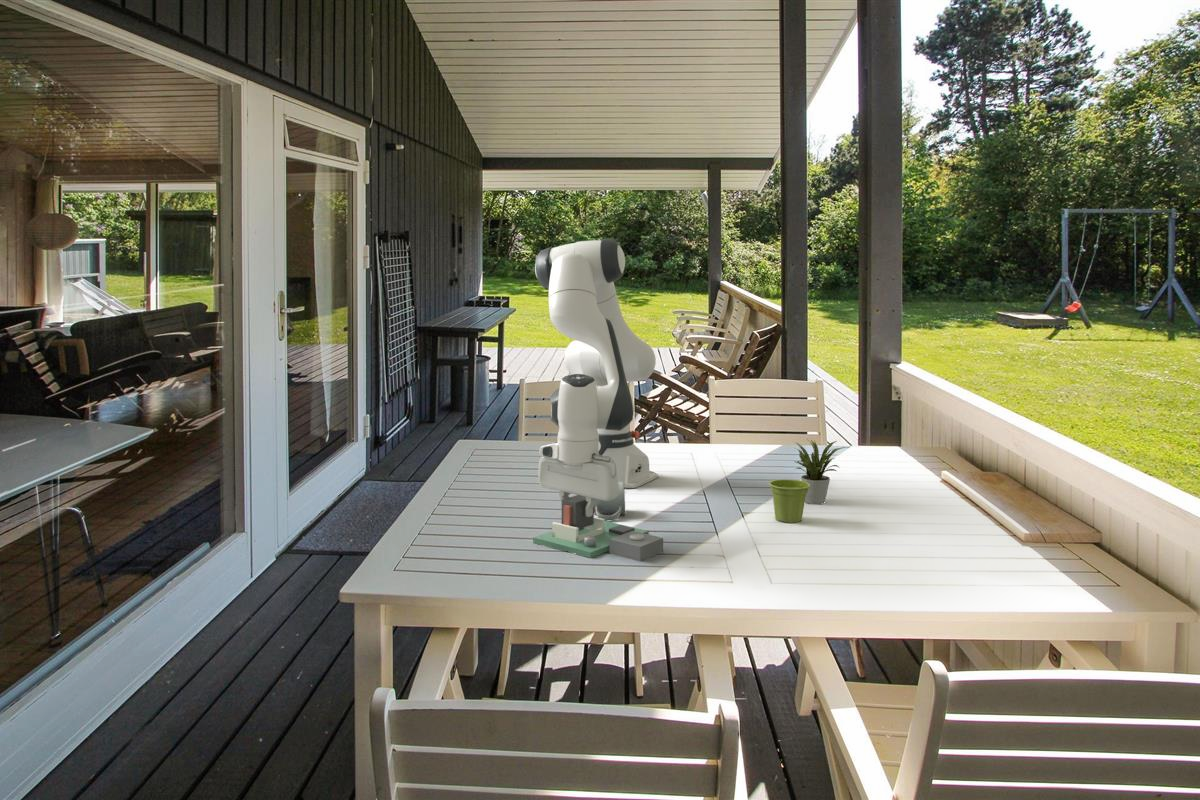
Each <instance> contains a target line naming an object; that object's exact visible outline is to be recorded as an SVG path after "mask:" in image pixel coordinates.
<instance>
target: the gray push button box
mask: <svg viewBox="0 0 1200 800" xmlns="http://www.w3.org/2000/svg"><path fill="white" fill-rule="evenodd" d="M608 553H609V554H611V553H612V554H611V555H614V554H616V555H615V556H618V555H619V557H622V556H623V557H622V558H626V557H627V559H630V558H631V560H634V559H635V560H634V561H638V562H641V561H643V560H646V559H649V558H651V557H653V556H656V555H658V554H661V553H664V537H661V536H657V535H653V534H645V533H640V532H636V531H631V532H628V533H625V534H623V535H620V536H617V537H614V538H611V539H609V551H608Z"/></svg>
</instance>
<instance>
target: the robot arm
mask: <svg viewBox="0 0 1200 800" xmlns="http://www.w3.org/2000/svg"><path fill="white" fill-rule="evenodd" d="M625 257H626V256H625V253H624V251H623V249H622V247H621V244H620V243H619V242H618V241H616V240H615V239H610V238H602V239H601V240H600V239H599V240H598V239H597V240H592V239H591V240H582V241H576V242H573V243H567V244H562V245H558V246H555V247H552V246H550V247H546V248H545V249H542V250H540V251H539V253H538V254H537V255H536V257H535V262H534V263H535V264H534V272H535V276H536V279H537V282H538V284H539V286H540V287H542V288H543V289H545V290H546V291H548V313H549V317H550V322H551V324H552V325H553V327H554V328H555V329H556V330H557V331H558V332H559V333H561V334H562V335H564V336H565V337H567V338H569V339H571V340H573V341H571V342H570V343H569V344H568V346H567V347H566V349H565V352H564V359H563V361H564V365H565V368H566V370H567V372H568V373H569V375H565V376H563V377H562V378H561V379H560V383H559V387H558V388H557V389H555V391H554V392H552V394H550V396H549V398H550V399H549V400H550V404H551V406H550V408H551V409H550V414H551V415H550V419H549V420H550V421H551V422H552V423H553V424H554V425H556V426H557V427H558V433H557V441H555V442H553V443H549V444H545V445H542V446H540V447H539V455H540V459H539V460H538V472H537V475H538V482H539V484H540V485H539V486H540V487H542V488H544V489H548V490H554V491H558V495H559V499H560V500H561V502H562V499H565V498H569V497H570V495H571V494H572V495H575V496H576V495H581V496H585V497H586V501H587V502H588V503H587V506H586V508H582V512H583V513H582V515H583V516H586V517H590V516H592V515H593V507H594V505H595V504H596V502H597V499H599V500H604V501H609V500H613V499H615V498H616V497H617V496H618V494H619V486H618V482H624V489H625V488H626V489H628V488H629V489H630V488H631V489H632V488H633V489H635V488H639V487H640V486H643V485H645V484H647V483H649V482H651V481H653V480H655V479H657V478H658V477H659V474H658V473H657V472H654V471H652V470H650V459H649V457H648V455H647V454H646V453H644V452H643V451H642V450H641V449H640V448H639V447H637V446H636V444H634V443H635V442H634V439H639V437H640V435H641V434H640V432H639V431H638V430H630V428H631V427H630V423H631V422H632V421H633V419H634V413H635V405H634V400H633V397H632V394H631V390H630V388H629V384H628V382H629V383H630V382H631V383H632V382H639V381H646V380H648V379H649V378H650V376H651V375H652V374H653V373H654V371H655V368H656V364H657V363H656V361H657V360H656V355H655V351H654V350H653V348H652V347H651V345H649V344H648V343H647V342H645V341H644V340H642V339H641V338H639V337H638V336H637V335H636V334H635V333H634V331H633V330H632V329H631V328H630V327H629V325H628V324H627V322H626V320H625V318H624V316H623V313H622V311H621V307H620V303H619V300H618V295H617V291H616V287H615V286H616V285H615V283H614V282H616V281H618V280H620V278H621V277H622V276H623V275H624V273H625V267H626V258H625ZM633 438H634V439H633Z"/></svg>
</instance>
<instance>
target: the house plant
mask: <svg viewBox="0 0 1200 800" xmlns="http://www.w3.org/2000/svg"><path fill="white" fill-rule="evenodd" d="M806 440H807V441H808V442H809V443H810V444H811V446H812V448H813V452H811V455H810V454H809V453H808V451H807V450H806V448H804V447H803V446H802V445H801V444H799V443H798V442H795V444H796V445H797V446H798V447H799V448H800V449H798V448H796V447H794V449H795V450H797V451H798V453H799V454H798V455H799V459H800V460H798V461H793V462H794V463H797V464H798V465H800V466H802V467H804V468H805V469H806V470H804V469H803V468H802V467H796V468H795V470H796V469H797V470H802V471H804V473H805V474H803V475H800V479H801V480H800V481H804V482H807V483H809V484H810V487H809V488H808V492H807V493H806V498H805V503H806V504H809V503H810V504H811V505H821V504H820V503H823V504H825V503H826V499H827V495H828V490H829V486H830V480H831V478H830V477H829V476H827V475H824V473H826V472H830V471H832V472H833V471H834V472H837V469H834V468H832V467H837V468H840V466H839V465H837V464H832V465H831V466H828V465H829V464H830V463H831V462H832V460H835V459H836V458H835V457H833V458H831V457H832V456H833V454H835V453H836V452H837V451H839V450H841V449H846V448H847V449H849V448H850V447H849V446H847V447H846V446H844V447H836V448H835V447H833V448H831V447H832V446H833V445H834V444H835V443H837V442H838V440H835V441H832V442H830V443H828V444H827V445H826V447H825V448H824V449H823V451H822V454H821V456H820V454H819V453H820V451H819V447H818V445H817V443H816V441H815V440H814V439H813V440H811V439H810V440H809V439H808V438H806ZM830 448H831V449H830ZM827 467H828V468H827ZM824 502H825V503H824ZM810 504H809V505H810Z"/></svg>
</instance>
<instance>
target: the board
mask: <svg viewBox="0 0 1200 800" xmlns="http://www.w3.org/2000/svg"><path fill="white" fill-rule="evenodd" d="M631 531H636V532H640V533H645V534H649V533H650V532H649V530H647V529H642V528H639V527H638V528H637V527H633V526H629V525H625V524H620V523H616V522H612V521H605V519H602V518H598V517H597V516H594V524H593V525H590V526H587V527H584V528H581V529H578V528H577V527H573V526H568V525H564V524H562V523H560V522H556V521H553V522H551V531H549V532H546V533H542V534H538V535H537V536H534V537H532V543H533V544H536V545H539V544H540V546H543V545H544V547H547V548H551V547H552V549H554V548H556V549H555V550H558V549H560V550H559V551H562V550H564V551H563V552H566V551H568V552H567V553H570V552H572V553H571V554H573V553H576V554H575V555H577V554H579V555H578V556H581V555H582V556H581V557H585V558H588V557H589V559H591V558H594V557H597V556H599V555H602V554H604V552H605V553H607V551H608V552H609V539H611V538H614V537H617V536H620V535H623V534H625V533H628V532H631ZM649 535H650V534H649ZM596 555H597V556H596Z"/></svg>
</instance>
